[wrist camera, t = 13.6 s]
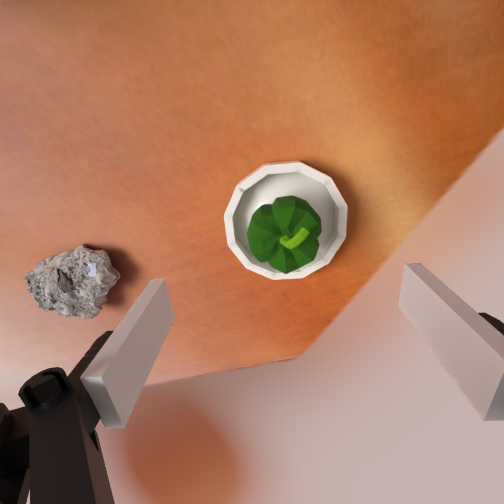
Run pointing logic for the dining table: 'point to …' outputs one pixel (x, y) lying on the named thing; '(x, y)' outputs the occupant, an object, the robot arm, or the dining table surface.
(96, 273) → the mineral specimen
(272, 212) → the bell pepper
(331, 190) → the dish
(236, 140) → the dining table surface
